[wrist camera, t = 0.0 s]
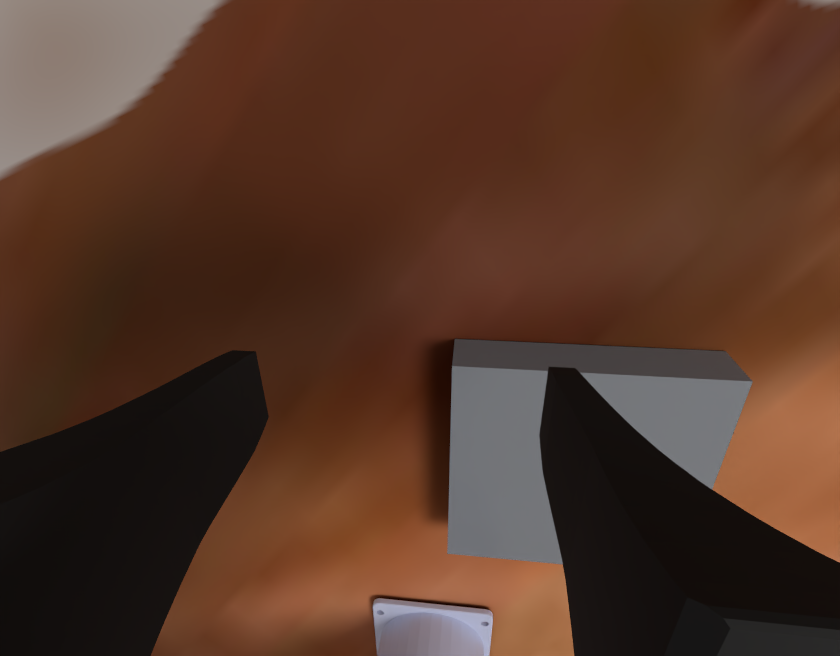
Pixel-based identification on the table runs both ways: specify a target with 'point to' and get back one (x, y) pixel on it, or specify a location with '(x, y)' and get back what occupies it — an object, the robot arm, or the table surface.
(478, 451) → the plate
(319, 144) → the table surface
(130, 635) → the robot arm
